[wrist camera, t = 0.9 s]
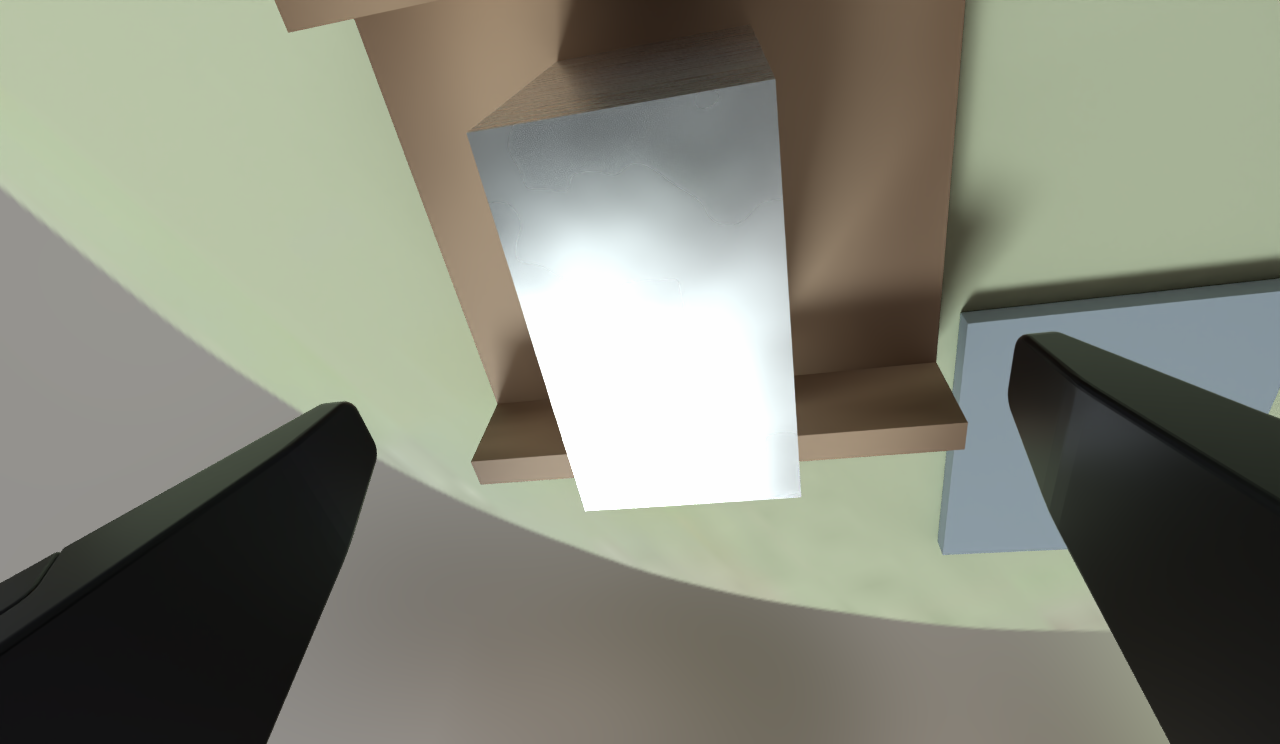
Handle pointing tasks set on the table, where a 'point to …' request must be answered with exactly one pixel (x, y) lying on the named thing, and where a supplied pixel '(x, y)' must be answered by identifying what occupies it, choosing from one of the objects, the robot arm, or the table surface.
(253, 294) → the table surface
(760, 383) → the metal block
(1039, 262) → the table surface
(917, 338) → the brown wooden tray
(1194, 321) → the rest mat
